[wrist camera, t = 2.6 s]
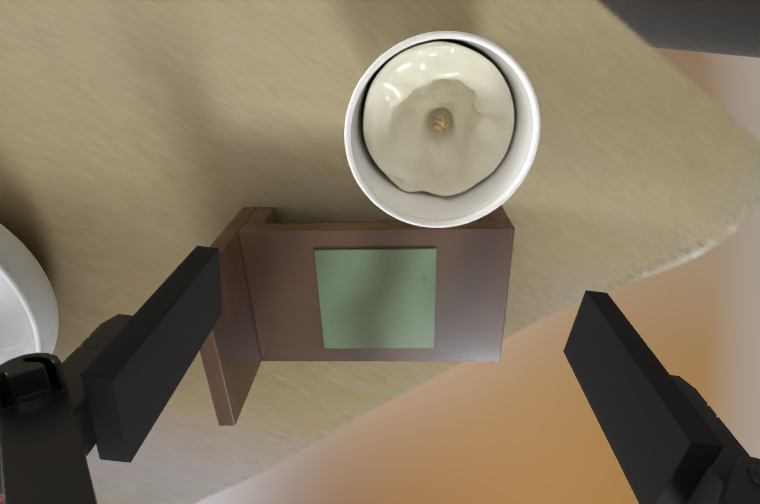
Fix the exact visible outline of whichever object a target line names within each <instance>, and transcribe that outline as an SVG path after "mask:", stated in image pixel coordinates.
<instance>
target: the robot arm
mask: <svg viewBox="0 0 760 504" xmlns="http://www.w3.org/2000/svg"><path fill="white" fill-rule="evenodd" d="M221 314H222V297H221V279H220V260H219V248H212V247H203V246H197V247H196V248H195V249H194V250H193V251H192V252H191V253H190V254H189V255H188V256H187V257H186V259H185V260H184V261H183V262H182V263H181V264H180V265H179V266H178V267H177V268H176V270H175V271H174V272H173V273H172V274H171V275H170V276H169V277H168V278H167V279H166V281H165V282H164V283H163V284H162V285H161V286H160V287H159V288H158V289H157V290H156V291H155V293H154V294H153V295H152V296H151V297H150V298H149V299H148V300H147V301H146V302H145V304H144V305H143V306H142V307H141V308H140V309H139V310H138V311H137V312H136V313H135V315H134V316H131V315H122V314H118V315H116V316H114V317H113V318H111V319H109V320H107V321H105V322H103V323H102V324H101V325H100V326H99V327H98V328H97V329H96V330H95V331H94V332H93V333H92V334H91V335H90V337H89V338H87V339H86V340H85V341H84V342H83V343H82V344H81V345H80V348H79V347H78V348H77V349H76V350H75V351H74V352H73V353H72V354H71V355H70V356H69V357H68V358H67V359H66V360H65V361H64V362H63V363H62V364H61V361H60V360H59V359H58V357H57V356H55V355H52V354H49V353H31V354H25V355H21V356H18V357H15V358H13V359H10V360H8V361H6V362H4V363H3V364H1V365H0V494H3V503H4V504H97V500H96V496H95V492H94V488H93V484H92V480H91V476H90V472H89V468H88V464H87V460H86V456H87V455H88V454H89V452H90V451H91V450H92V448H93V447H94V445H95V444H96V445H97V449H98V453H99V457H100V459H102V460H111V461H120V462H130V463H131V461H132V459H133V458H134V456H135V455H136V453H137V451H138V450H139V448H140V446H141V445H142V443H143V442H144V440H145V438H146V437H147V435H148V433H149V432H150V430H151V428H152V427H153V425H154V424H155V422H156V420H157V419H158V417H159V415H160V414H161V412H162V411H163V409H164V407H165V406H166V404H167V402H168V401H169V399H170V397H171V396H172V394H173V393H174V391H175V389H176V388H177V386H178V384H179V383H180V381H181V380H182V378H183V376H184V375H185V373H186V371H187V370H188V368H189V367H190V365H191V363H192V362H193V360H194V358H195V357H196V355H197V353H198V352H199V350H200V349H201V347H202V345H203V344H204V342H205V340H206V339H207V337H208V336H209V334H210V332H211V331H212V329H213V327H214V326H215V324H216V323H217V321H218V319H219V318H220V316H221ZM564 353H565V355H566V357H567V359H568V361H569V363H570V365H571V367H572V369H573V372H574V373H575V376H576V378H577V379H578V382H579V383H580V385H581V388H582V390H583V392H584V394H585V396H586V397H587V399H588V402H589V404H590V406H591V408H592V410H593V412H594V414H595V416H596V417H597V420H598V422H599V424H600V426H601V428H602V430H603V432H604V434H605V436H606V438H607V440H608V442H609V444H610V446H611V448H612V450H613V452H614V454H615V456H616V458H617V460H618V462H619V464H620V466H621V468H622V470H623V472H624V474H625V476H626V478H627V480H628V482H629V484H630V486H631V488H632V490H633V492H634V494H635V496H636V498H637V500H638V502H639V504H760V459H758V458H753V457H750V456H749V454H748V453H747V452H746V451H745V449H744V448H743V447H742V446H741V445H740V443H739V442H738V441H737V440H736V438H735V437H734V436H733V435H732V433H731V432H730V431H729V430H728V428H727V427H726V426H725V425H724V423H723V422H722V421H721V420H720V418H717V417H716V414H715V412H714V411H713V410H712V409H711V407H710V406H707V402H706V401H705V400H704V399H703V398H702V396H701V395H700V394H699V392H698V391H697V390H696V389H695V388H694V387H692V386H691V385H690V384H689V383H687V382H686V381H685V380H683V379H682V378H681V377H680V376H674V375H669V373H668V372H667V371H666V369H665V368H664V367H663V365H662V364H661V363H660V361H659V360H658V359H657V358H656V356H655V355H654V354H653V352H652V351H651V350H650V348H648V346H647V345H646V343H645V342H644V341H643V339H642V338H641V337H640V335H639V334H638V333H637V332H636V330H635V329H634V328H633V326H632V325H631V324H630V322H629V321H628V320H627V318H626V317H625V316H624V314H623V313H622V312H621V311H620V309H619V308H618V307H617V305H616V304H615V303H614V302H613V300H612V299H611V298H610V296H609V295H608V294H607V293H604V292H595V291H585V294H584V297H583V299H582V302H581V305H580V308H579V310H578V313H577V316H576V319H575V321H574V324H573V327H572V330H571V332H570V335H569V338H568V341H567V343H566V346H565V349H564Z"/></svg>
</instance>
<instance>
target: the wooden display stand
mask: <svg viewBox="0 0 760 504" xmlns="http://www.w3.org/2000/svg"><path fill="white" fill-rule="evenodd" d="M514 229H515V228H514V226H513V225H512V223H511V221H510V220H509V218H508V216H507V214H506V212H505V211H504V209H503V207H502V205H500V206H499V207H498V208H496V209H495V210H494V211H492V212H490V213H489V214H487V215H485V216H483V217H481V221H472V222H469V223H466V224H463V225H458V226H453V227H445V228H430V227H422V226H417V225H412V224H409V223H406V222H352V223H282V224H277V222H276V215H275V208H274V207H264V208H242V209H241V211H240V212H239V213H238V214H237V215H236V216H235V218H234V219H233V220H232V221H231V222H230V224H229V225H228V226H227V227H226V228H225V229H224V231H223V232H222V233H221V234H220V235H219V237H218V238H217V239H216V240H215V241H214V242H213V244H212V245H211V246H210V247H212V248H219V260H220V279H221V297H222V314H221V316H220V318H219V319H218V321H217V323H216V324H215V326H214V327H213V329H212V331H211V332H210V334H209V336H208V337H207V339H206V340H205V342H204V344H203V345H202V347H201V349H200V353H201V357H202V361H203V365H204V369H205V373H206V376H207V380H208V384H209V388H210V392H211V396H212V400H213V403H214V407H215V411H216V415H217V419H218V423H219V425H227V426H234V425H235V424H236V422H237V420H238V417H239V415H240V412H241V410H242V407H243V405H244V402H245V400H246V398H247V395H248V393H249V390H250V388H251V385H252V383H253V380H254V378H255V375H256V373H257V371H258V368H259V366H260V363H261V361H500V358H501V348H502V340H503V331H504V321H505V312H506V303H507V294H508V285H509V275H510V266H511V257H512V248H513V238H514Z"/></svg>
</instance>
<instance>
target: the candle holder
mask: <svg viewBox="0 0 760 504" xmlns="http://www.w3.org/2000/svg"><path fill="white" fill-rule="evenodd" d="M539 137H540V111H539V105H538V101H537V97H536V94H535V91H534V88H533V86H532V84H531V82H530V80H529V78H528V76H527V74H526V73H525V71H524V70H523V68H522V67H521V66H520V65H519V63H518V62H517V61H516V60H515V59H514V58H513V57H512V56H511V55H510V54H509V53H508V52H507V51H505V50H504V49H503V48H501V47H500V46H498V45H497V44H495V43H493V42H492V41H490V40H488V39H485V38H483V37H480V36H478V35H475V34H471V33H467V32H461V31H433V32H428V33H423V34H419V35H416V36H413V37H411V38H408V39H406V40H404V41H402V42H400V43H398V44H396V45H395V46H393V47H391V48H390V49H389V50H387V51H386V52H385V53H383V54H382V55H381V56H380V57H379V58H378V59H376V60H375V61H374V62H373V64H372V65H371V66H370V67H369V68H368V69H367V71H366V72H365V73H364V75H363V76H362V78H361V79H360V81H359V82H358V84H357V86H356V88H355V90H354V92H353V94H352V97H351V99H350V102H349V105H348V109H347V113H346V119H345V128H344V140H345V149H346V155H347V159H348V162H349V166H350V168H351V171H352V173H353V175H354V177H355V179H356V181H357V183H358V184H359V186H360V188H361V189H362V190H363V192H364V193H365V194H366V195H367V197H368V198H369V199H370V200H371V201H372V202H373V203H374V204H375V205H377V206H378V207H379V208H380V209H381V210H383V211H384V212H386V213H387V214H389V215H391V216H392V217H394V218H396V219H398V220H401V221H403V222H406V223H409V224H412V225H417V226H422V227H430V228H445V227H453V226H458V225H463V224H466V223H469V222H472V221H475V220H477V219H479V218H481V217H483V216H485V215H487V214H489V213H490V212H492V211H494V210H495V209H496V208H498V207H499V206H500V205H502V204H503V203H504V202H505V201H506V200H507V199H508V198H509V197H510V196H511V195H512V194H513V193H514V192H515V191H516V190H517V189H518V187H519V186H520V185H521V183H522V182H523V180H524V179H525V177H526V175H527V174H528V172H529V170H530V168H531V166H532V163H533V161H534V158H535V155H536V152H537V148H538V143H539Z"/></svg>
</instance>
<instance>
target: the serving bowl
mask: <svg viewBox="0 0 760 504" xmlns="http://www.w3.org/2000/svg"><path fill="white" fill-rule="evenodd" d="M58 327H59V317H58V307H57V302H56V298H55V295H54V292H53V289H52V286H51V284H50V282H49V280H48V278H47V276H46V274H45V272H44V270H43V269H42V267H41V266H40V264H39V263H38V261H37V260H36V259H35V257H34V256H33V255H32V253H31V252H30V251H29V250H28V249H27V247H26V246H25V245H24V244H23V243H22V242H21V241H20V240H19V239H18V238H17V237H16V236H15V235H13V234H12V233H11V232H10V231H9V230H8V229H6V228H5V227H4V226H3V225H1V224H0V365H1V364H3V363H4V362H6V361H8V360H10V359H13V358H15V357H18V356H21V355H25V354H31V353H49V354H52V353H53V351H54V348H55V345H56V341H57V336H58Z"/></svg>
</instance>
